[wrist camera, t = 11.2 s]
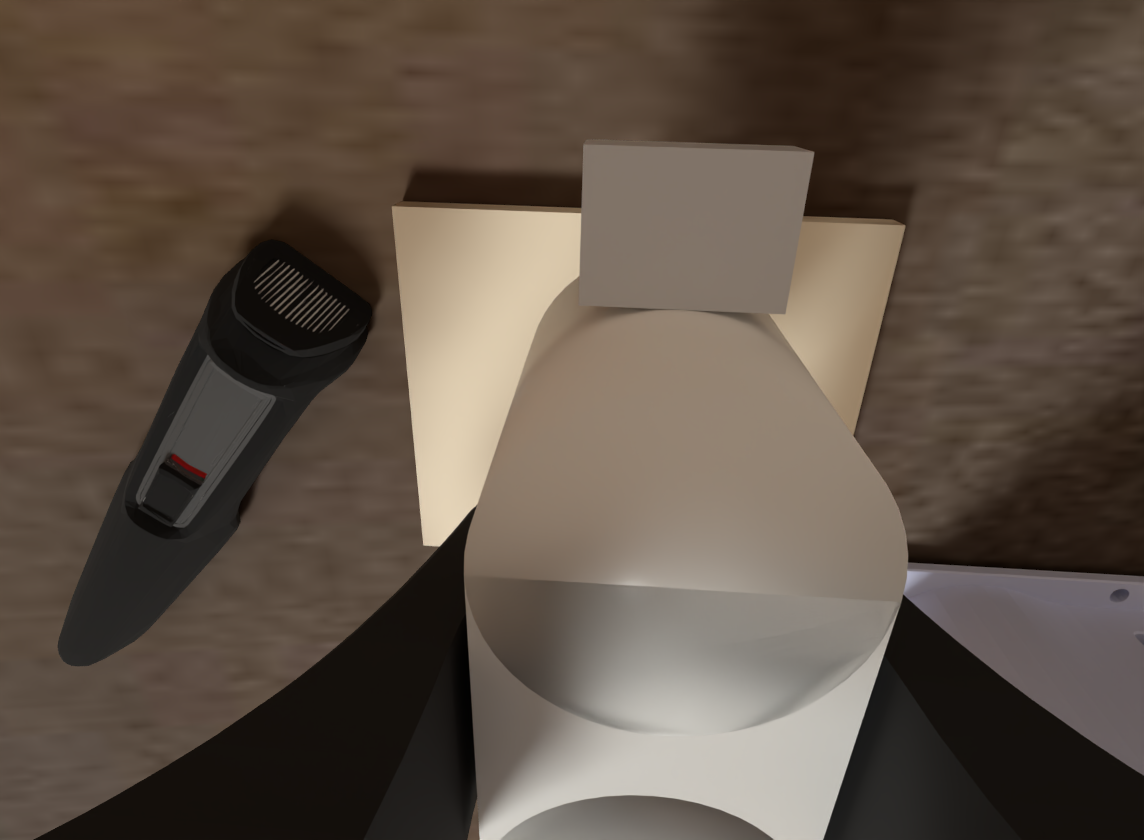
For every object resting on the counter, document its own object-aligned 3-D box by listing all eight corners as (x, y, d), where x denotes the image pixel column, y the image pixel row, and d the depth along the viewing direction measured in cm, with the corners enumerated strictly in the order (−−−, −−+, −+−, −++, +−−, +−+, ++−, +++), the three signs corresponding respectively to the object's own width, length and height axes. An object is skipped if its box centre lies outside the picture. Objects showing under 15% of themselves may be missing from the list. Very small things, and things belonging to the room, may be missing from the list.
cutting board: (892, 219, 16) (905, 225, 15) (813, 552, 20) (820, 568, 20) (401, 201, 16) (392, 206, 16) (430, 529, 21) (423, 545, 20)
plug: (527, 127, 9) (439, 161, 4) (823, 136, 9) (1039, 181, 4) (529, 680, 14) (487, 965, 9) (721, 694, 14) (773, 989, 9)
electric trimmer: (76, 571, 23) (0, 639, 20) (269, 224, 17) (199, 252, 14) (174, 625, 24) (115, 696, 21) (391, 313, 18) (348, 356, 15)
